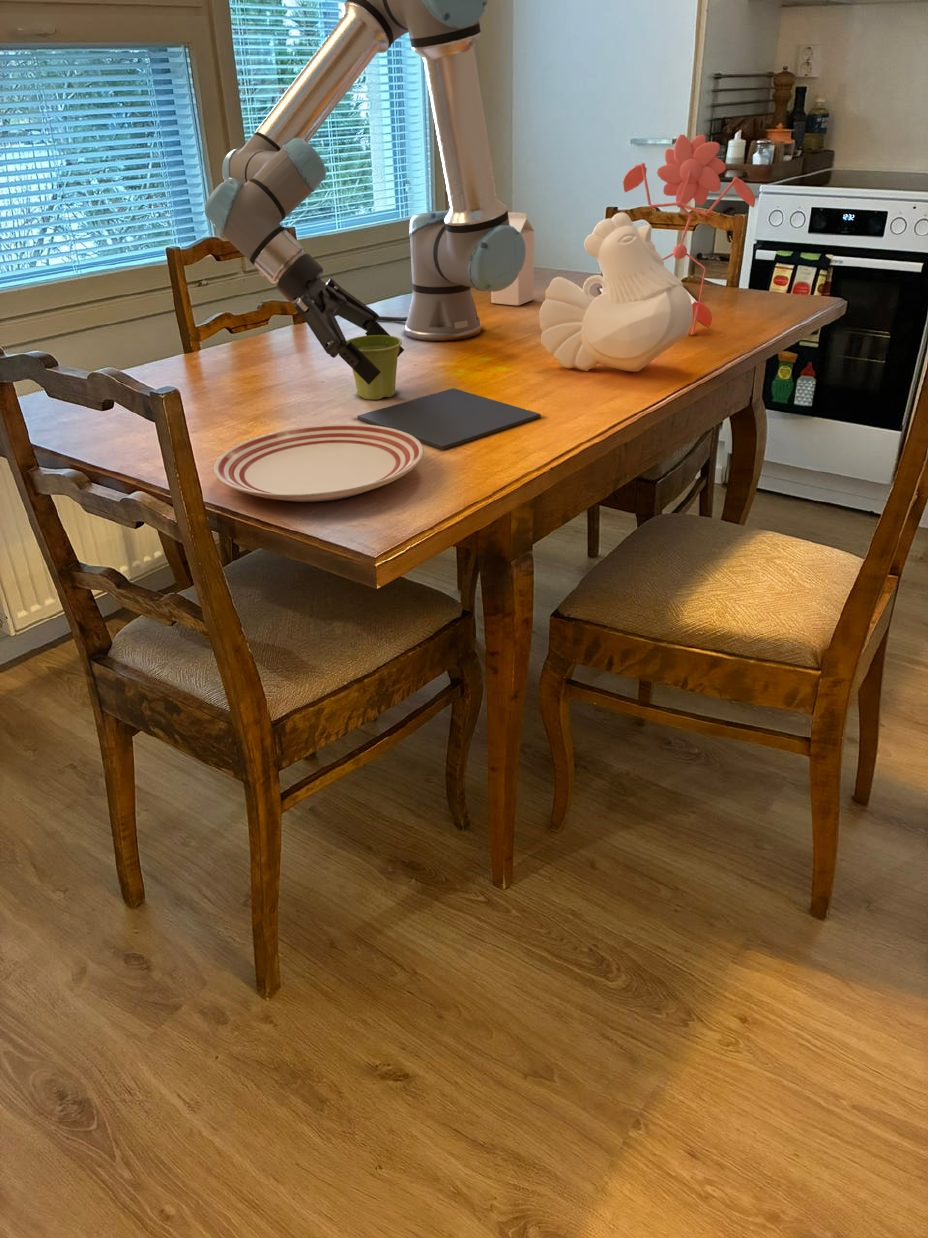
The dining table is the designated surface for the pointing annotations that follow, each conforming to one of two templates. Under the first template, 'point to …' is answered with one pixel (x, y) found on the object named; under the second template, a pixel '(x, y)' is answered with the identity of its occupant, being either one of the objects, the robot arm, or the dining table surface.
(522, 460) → the dining table surface
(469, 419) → the placemat
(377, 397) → the plant pot
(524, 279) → the milk carton
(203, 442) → the dining table surface
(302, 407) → the dining table surface
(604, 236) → the decorative rooster
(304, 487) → the dinner plate
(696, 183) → the figurine
